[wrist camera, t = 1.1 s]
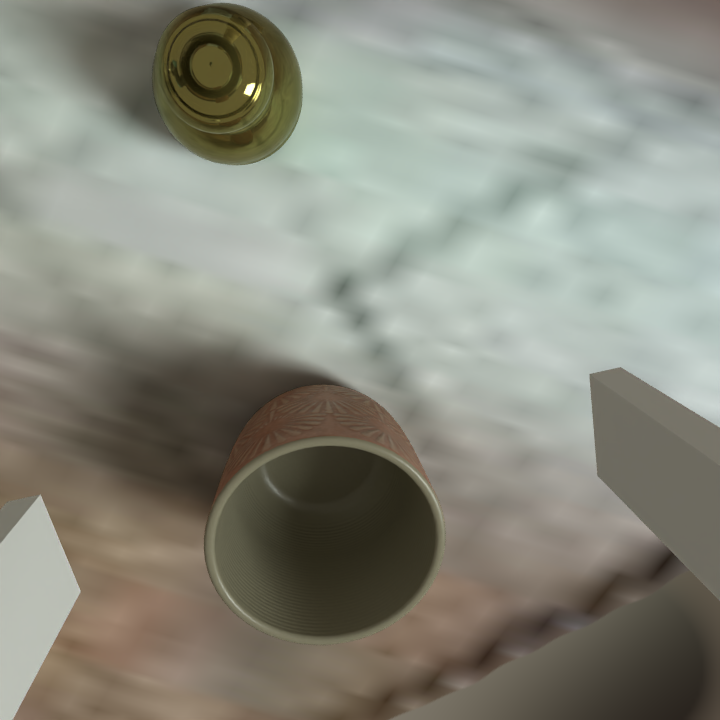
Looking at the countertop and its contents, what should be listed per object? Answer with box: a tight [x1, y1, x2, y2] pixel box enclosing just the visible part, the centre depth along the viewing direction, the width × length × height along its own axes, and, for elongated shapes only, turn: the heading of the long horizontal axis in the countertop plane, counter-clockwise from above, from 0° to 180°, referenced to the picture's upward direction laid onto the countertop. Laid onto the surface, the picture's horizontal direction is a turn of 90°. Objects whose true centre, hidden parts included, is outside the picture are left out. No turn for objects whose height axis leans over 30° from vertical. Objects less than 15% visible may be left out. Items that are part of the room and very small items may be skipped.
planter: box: [204, 385, 446, 645], centre depth 36 cm, size 12×12×11 cm
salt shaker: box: [152, 3, 302, 165], centre depth 29 cm, size 7×7×10 cm
